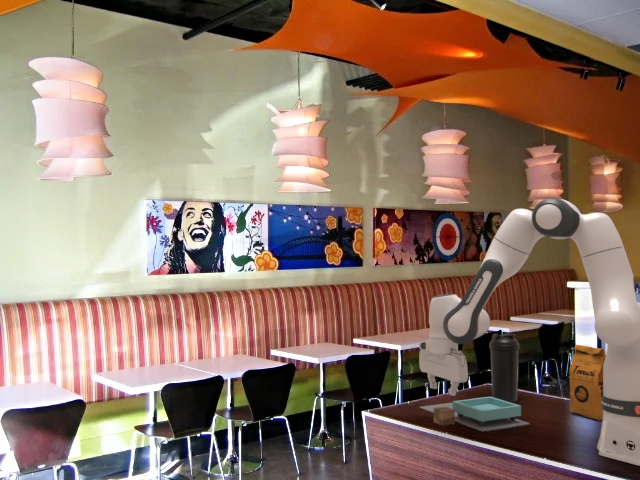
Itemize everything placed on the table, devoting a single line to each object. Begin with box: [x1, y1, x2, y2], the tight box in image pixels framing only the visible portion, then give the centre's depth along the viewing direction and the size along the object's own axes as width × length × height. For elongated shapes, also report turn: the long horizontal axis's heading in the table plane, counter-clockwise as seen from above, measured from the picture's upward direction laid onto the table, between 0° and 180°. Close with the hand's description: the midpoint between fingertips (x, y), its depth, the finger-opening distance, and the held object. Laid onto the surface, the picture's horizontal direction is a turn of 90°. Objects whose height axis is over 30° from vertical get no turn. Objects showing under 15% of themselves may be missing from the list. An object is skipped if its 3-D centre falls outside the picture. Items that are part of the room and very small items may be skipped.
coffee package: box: [569, 344, 606, 421], centre depth 210 cm, size 10×12×22 cm
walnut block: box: [433, 406, 456, 427], centre depth 202 cm, size 4×4×4 cm
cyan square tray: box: [452, 396, 522, 425], centre depth 204 cm, size 14×15×5 cm
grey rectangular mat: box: [419, 402, 530, 433], centre depth 211 cm, size 32×18×1 cm, turn 26°
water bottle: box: [488, 332, 521, 403], centre depth 233 cm, size 10×10×23 cm
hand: (442, 391), depth 203 cm, fingers open, 8 cm apart
